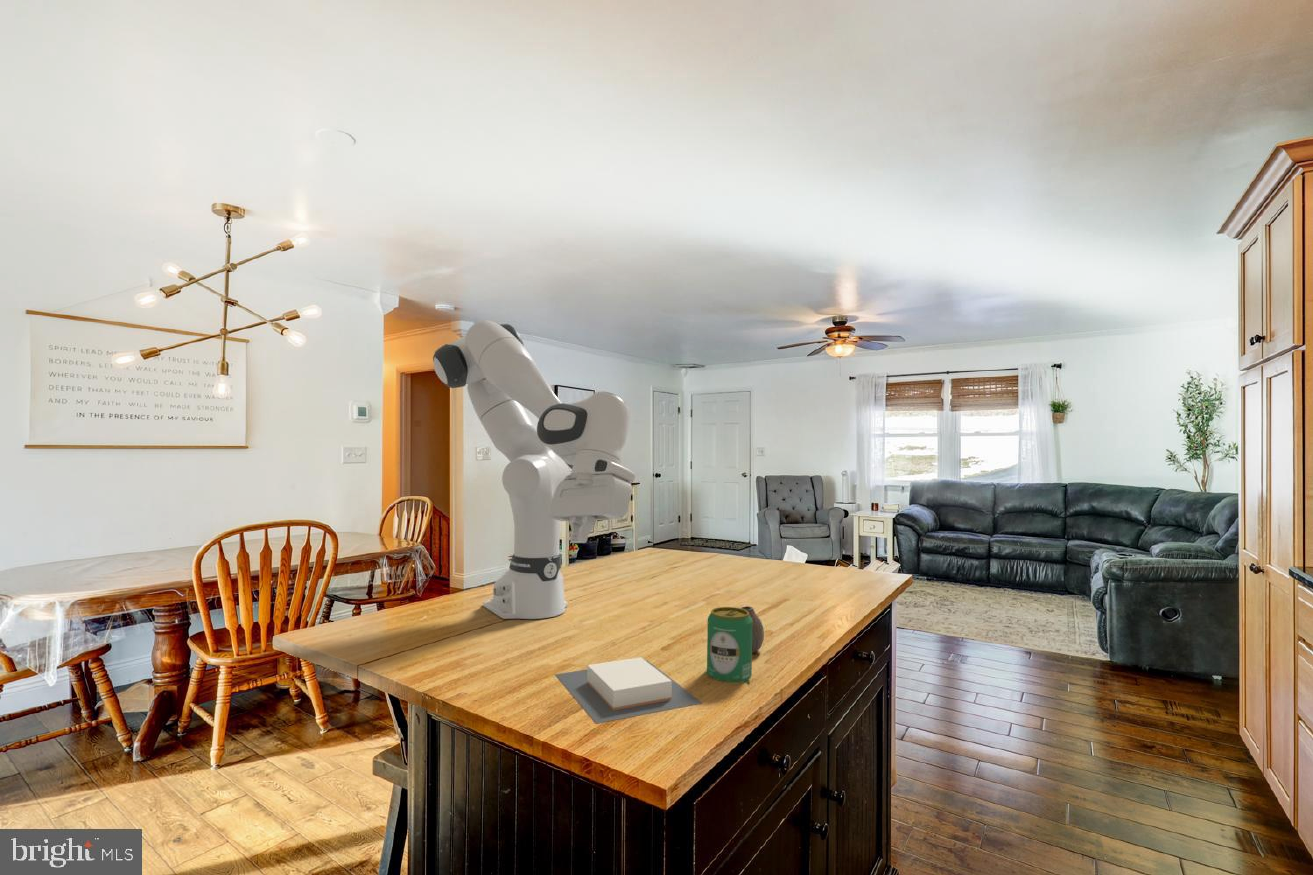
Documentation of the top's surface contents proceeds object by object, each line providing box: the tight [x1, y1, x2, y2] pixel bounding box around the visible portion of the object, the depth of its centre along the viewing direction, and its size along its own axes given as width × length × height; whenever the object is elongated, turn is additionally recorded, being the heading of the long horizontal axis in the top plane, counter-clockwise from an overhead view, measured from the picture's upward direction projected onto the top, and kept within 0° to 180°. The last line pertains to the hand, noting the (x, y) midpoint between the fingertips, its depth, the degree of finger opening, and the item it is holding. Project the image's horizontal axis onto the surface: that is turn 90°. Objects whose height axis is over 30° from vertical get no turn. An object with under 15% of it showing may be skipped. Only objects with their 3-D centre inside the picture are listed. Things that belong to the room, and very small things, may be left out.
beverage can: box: [706, 606, 753, 684], centre depth 111 cm, size 8×8×12 cm
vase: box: [740, 605, 765, 654], centre depth 126 cm, size 7×7×9 cm
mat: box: [554, 660, 703, 725], centre depth 103 cm, size 21×18×1 cm
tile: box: [587, 656, 672, 710], centre depth 102 cm, size 3×10×12 cm
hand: (577, 542), depth 114 cm, fingers closed
